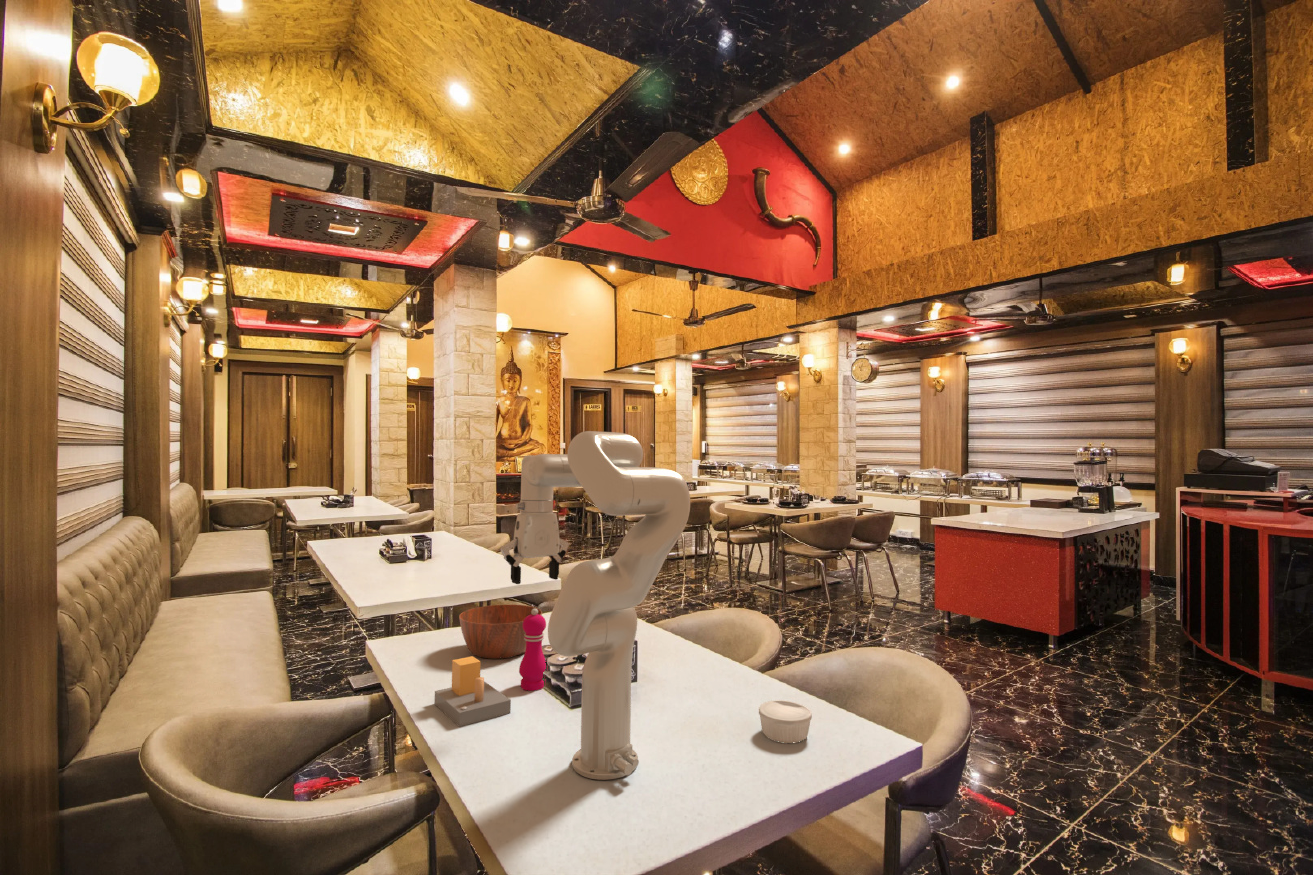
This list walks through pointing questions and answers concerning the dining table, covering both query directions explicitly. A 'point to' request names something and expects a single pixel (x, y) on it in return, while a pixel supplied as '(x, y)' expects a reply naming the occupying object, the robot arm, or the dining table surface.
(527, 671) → the pepper mill
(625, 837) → the dining table surface
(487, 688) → the peg board base
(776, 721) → the ramekin
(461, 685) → the upright wooden block
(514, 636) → the bowl
